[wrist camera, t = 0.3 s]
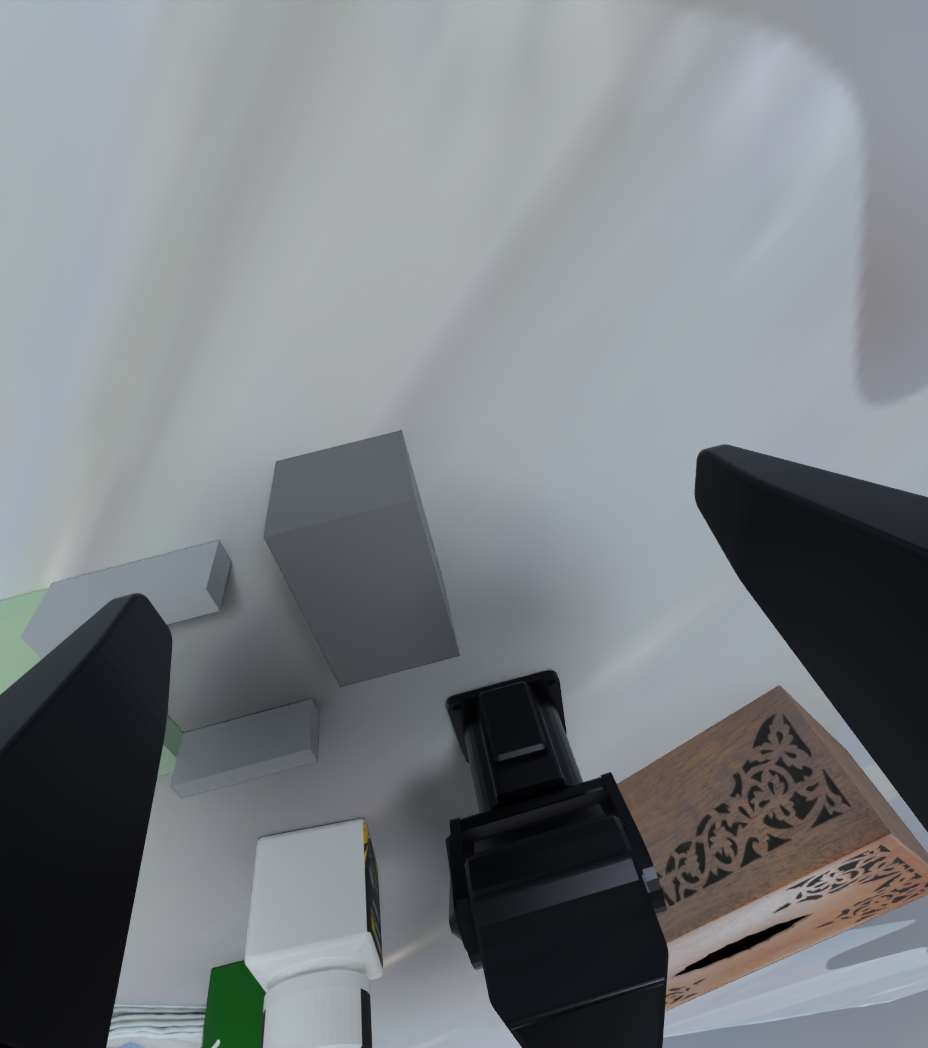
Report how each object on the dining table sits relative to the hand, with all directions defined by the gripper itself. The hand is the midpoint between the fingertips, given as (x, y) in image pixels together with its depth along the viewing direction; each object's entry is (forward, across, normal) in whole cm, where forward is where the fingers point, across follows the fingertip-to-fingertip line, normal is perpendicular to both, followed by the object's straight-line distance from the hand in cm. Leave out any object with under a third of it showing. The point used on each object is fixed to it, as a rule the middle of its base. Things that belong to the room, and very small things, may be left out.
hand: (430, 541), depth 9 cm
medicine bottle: (+14, +14, +34) cm, 40 cm away
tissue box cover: (+15, -12, +42) cm, 46 cm away
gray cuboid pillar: (+14, +3, +8) cm, 16 cm away
